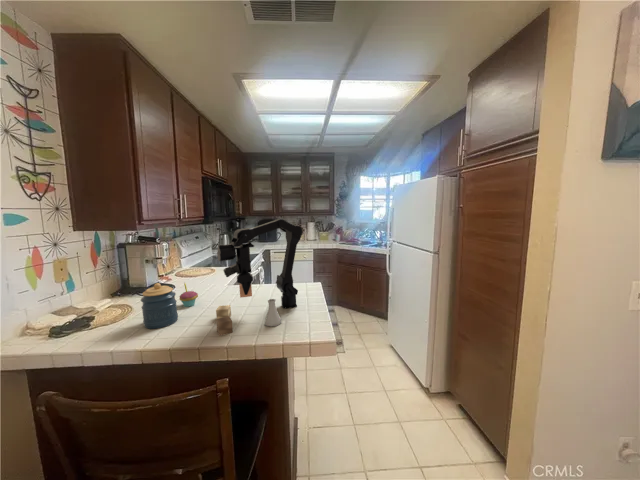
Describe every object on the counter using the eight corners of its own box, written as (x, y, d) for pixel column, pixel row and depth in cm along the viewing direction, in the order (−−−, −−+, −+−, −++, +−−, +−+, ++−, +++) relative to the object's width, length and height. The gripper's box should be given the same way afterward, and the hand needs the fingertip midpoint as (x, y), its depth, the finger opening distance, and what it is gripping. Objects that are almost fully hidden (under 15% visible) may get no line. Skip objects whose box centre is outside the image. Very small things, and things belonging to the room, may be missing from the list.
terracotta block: (251, 292, 121) (250, 282, 120) (252, 296, 116) (251, 285, 116) (240, 294, 120) (239, 283, 119) (240, 297, 115) (239, 286, 114)
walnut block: (229, 327, 109) (228, 316, 108) (232, 332, 104) (231, 320, 104) (217, 331, 106) (215, 319, 105) (219, 336, 102) (218, 323, 101)
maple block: (231, 315, 121) (230, 305, 120) (228, 320, 116) (227, 309, 115) (219, 316, 120) (218, 305, 120) (216, 321, 115) (215, 310, 115)
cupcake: (176, 307, 134) (173, 284, 132) (190, 301, 142) (188, 279, 140) (188, 309, 130) (186, 285, 129) (202, 303, 138) (200, 280, 137)
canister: (158, 331, 107) (153, 288, 105) (136, 327, 112) (131, 286, 110) (185, 318, 119) (181, 280, 117) (163, 315, 124) (159, 278, 122)
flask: (278, 327, 107) (276, 303, 106) (261, 326, 109) (259, 302, 107) (284, 319, 114) (282, 297, 113) (268, 319, 116) (266, 296, 114)
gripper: (225, 256, 122) (227, 289, 124) (222, 264, 105) (225, 302, 107) (250, 254, 126) (252, 286, 128) (251, 261, 108) (254, 298, 110)
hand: (245, 292), depth 118 cm, fingers closed on terracotta block, 5 cm apart
